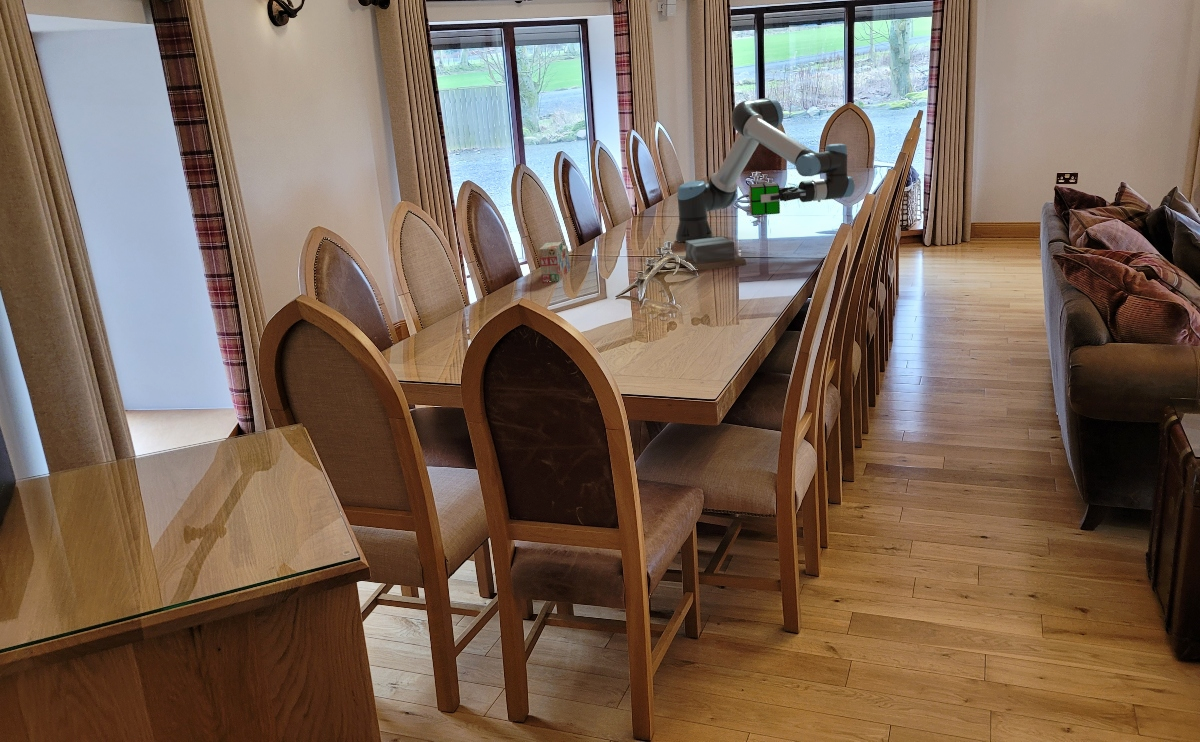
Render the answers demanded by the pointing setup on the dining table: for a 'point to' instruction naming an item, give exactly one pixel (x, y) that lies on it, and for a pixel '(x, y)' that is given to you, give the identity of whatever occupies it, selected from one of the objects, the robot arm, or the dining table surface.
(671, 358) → the dining table surface
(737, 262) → the tower base
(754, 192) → the puzzle cube
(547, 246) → the stack of blocks
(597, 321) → the dining table surface
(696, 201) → the robot arm
